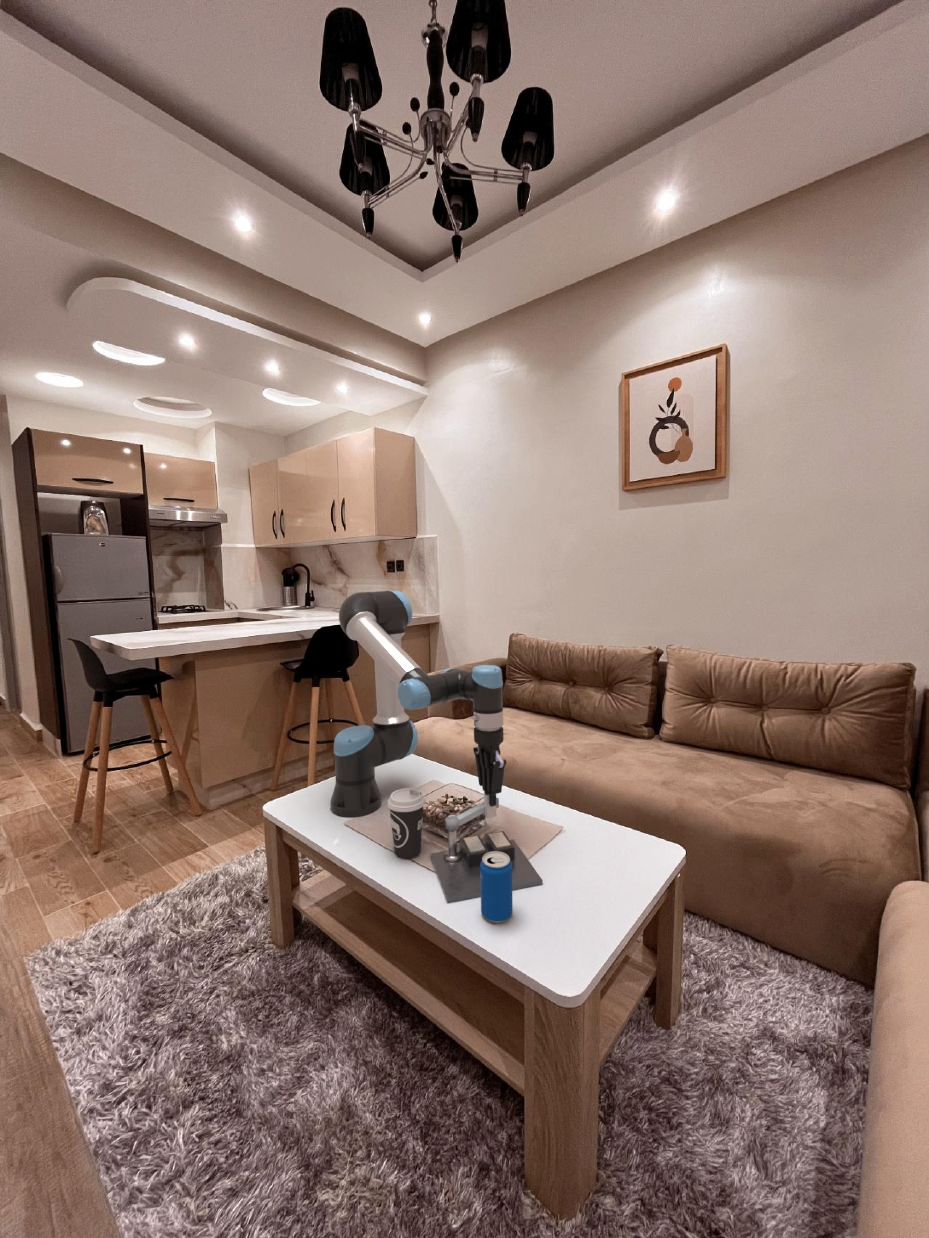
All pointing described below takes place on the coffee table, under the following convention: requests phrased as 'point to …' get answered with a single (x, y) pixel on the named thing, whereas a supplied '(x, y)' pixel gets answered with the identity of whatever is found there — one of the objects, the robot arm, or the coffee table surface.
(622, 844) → the coffee table surface
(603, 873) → the coffee table surface
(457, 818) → the cable arm
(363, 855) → the coffee table surface
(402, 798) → the coffee cup
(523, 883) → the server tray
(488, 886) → the beverage can
